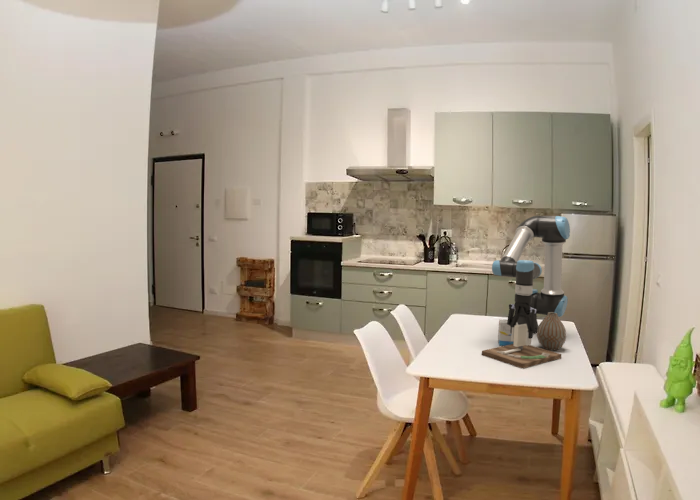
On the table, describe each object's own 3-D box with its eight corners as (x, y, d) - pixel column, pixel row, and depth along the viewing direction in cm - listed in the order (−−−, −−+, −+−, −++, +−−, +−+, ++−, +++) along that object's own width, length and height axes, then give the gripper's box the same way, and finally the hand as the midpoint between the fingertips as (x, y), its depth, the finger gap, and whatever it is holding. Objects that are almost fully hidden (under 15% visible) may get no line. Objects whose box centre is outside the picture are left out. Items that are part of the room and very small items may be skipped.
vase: (536, 350, 231) (538, 314, 230) (535, 343, 244) (537, 309, 242) (566, 353, 227) (568, 317, 225) (564, 346, 239) (566, 311, 238)
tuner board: (519, 346, 237) (520, 341, 237) (561, 358, 219) (561, 353, 219) (481, 354, 222) (481, 350, 221) (522, 368, 204) (523, 363, 203)
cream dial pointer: (523, 347, 226) (525, 323, 225) (527, 348, 225) (529, 324, 224) (501, 352, 217) (503, 327, 216) (505, 354, 216) (506, 328, 215)
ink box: (517, 347, 236) (518, 323, 235) (499, 345, 238) (500, 322, 237) (514, 342, 244) (516, 320, 244) (497, 341, 246) (498, 318, 245)
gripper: (500, 291, 227) (497, 338, 229) (538, 298, 210) (535, 349, 212) (510, 290, 231) (507, 336, 233) (548, 296, 215) (545, 347, 217)
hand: (520, 342), depth 223 cm, fingers open, 7 cm apart
